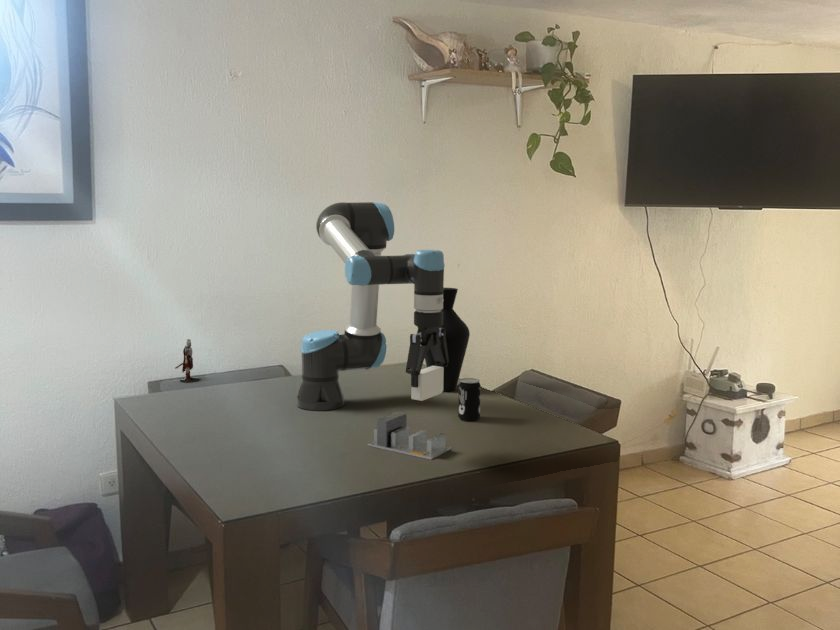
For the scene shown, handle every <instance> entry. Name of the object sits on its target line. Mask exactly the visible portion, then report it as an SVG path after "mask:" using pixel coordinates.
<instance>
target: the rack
mask: <svg viewBox="0 0 840 630" xmlns="http://www.w3.org/2000/svg"><path fill="white" fill-rule="evenodd" d="M407 415H408V414H407V413H406V412H401V411H396V412H394V413H391V414H388V415H385V416H383V417H381V418H379V419H377V420H376V428H374V429H373V441H370V442H367V446H368V447H373V448H378V449H382V450H386V451H389V452H390V451H391V452H396V453H400V454H403V455H409V456H414V457H419V458H421V459H427V460H433V459H435V458H437V457H439V456H441V455H443V454H445V453H446V452H449V451H451V450H452V449H451V448H452V447H451V446H448V445H446V434H445V433H441V432H440V433H438V434H435V436H433V437H429V438H428V430H426V429H422V430H419V431H417V432H415V433H412V434H411V426H407Z"/></svg>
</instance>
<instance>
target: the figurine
mask: <svg viewBox="0 0 840 630" xmlns="http://www.w3.org/2000/svg"><path fill="white" fill-rule="evenodd" d="M182 353H183V361H182V362H181V363H180V364H178V365H177V366H176V367H175V368H174V369H176V370H177V369H178V368H180V367H181V366H182V371H181V372H182V374H184V372H185V378H186V379H185V380H181V379H179V382H180V383H182V384H183V383H184V384H187V383H188V384H191V383H196V382H199V381H200V379H199V378H196V377H191V371H192V370H193V369H194V358H193V348H192V342H191V339H186V345H184V348H183V350H182Z"/></svg>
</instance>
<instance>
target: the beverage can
mask: <svg viewBox="0 0 840 630" xmlns="http://www.w3.org/2000/svg"><path fill="white" fill-rule="evenodd" d="M481 387H482V386H481V383H480V379H478V378H473V377H464V378H461V379H460V381H459V383H458V404H457V405H458V406H457V407H458V410H457V415H458V418H459V419H460V421H464V422H476V421H478V420H479V419H480V417H481V393H482V391H481V389H482V388H481Z"/></svg>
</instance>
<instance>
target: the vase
mask: <svg viewBox="0 0 840 630" xmlns="http://www.w3.org/2000/svg"><path fill="white" fill-rule="evenodd" d="M458 290H459V289H458V288H456V287H443V299H444V302H443V309H442V310H441V311H442V312H443V325H442V326H440V327H439V328H445V329H446V344H447V351H448V358H449V362H448V366H447V367H444V380H443V391H442V393H452V392H455V391H456V390H457V386H458V384H459V378H460V374H461V371H462V367H463V364H464V360H465V356H466V352H467V347H468V344H469V340H470V335H471V334H470V329H469V326H467V324H466V323H465V322H464V321H463V320H462V319H461V317H460V316H459V315H458V314H457V312H456V311H455V310H454V305H455V301H456V298H457V294H458ZM444 358H445V357H444ZM424 362H425V366H426V368H427V367H430V366H437V365H435V362H434V358H433V355H432V352H431V349H430V347H429V350H428V351H426V355H425V358H424Z"/></svg>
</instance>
